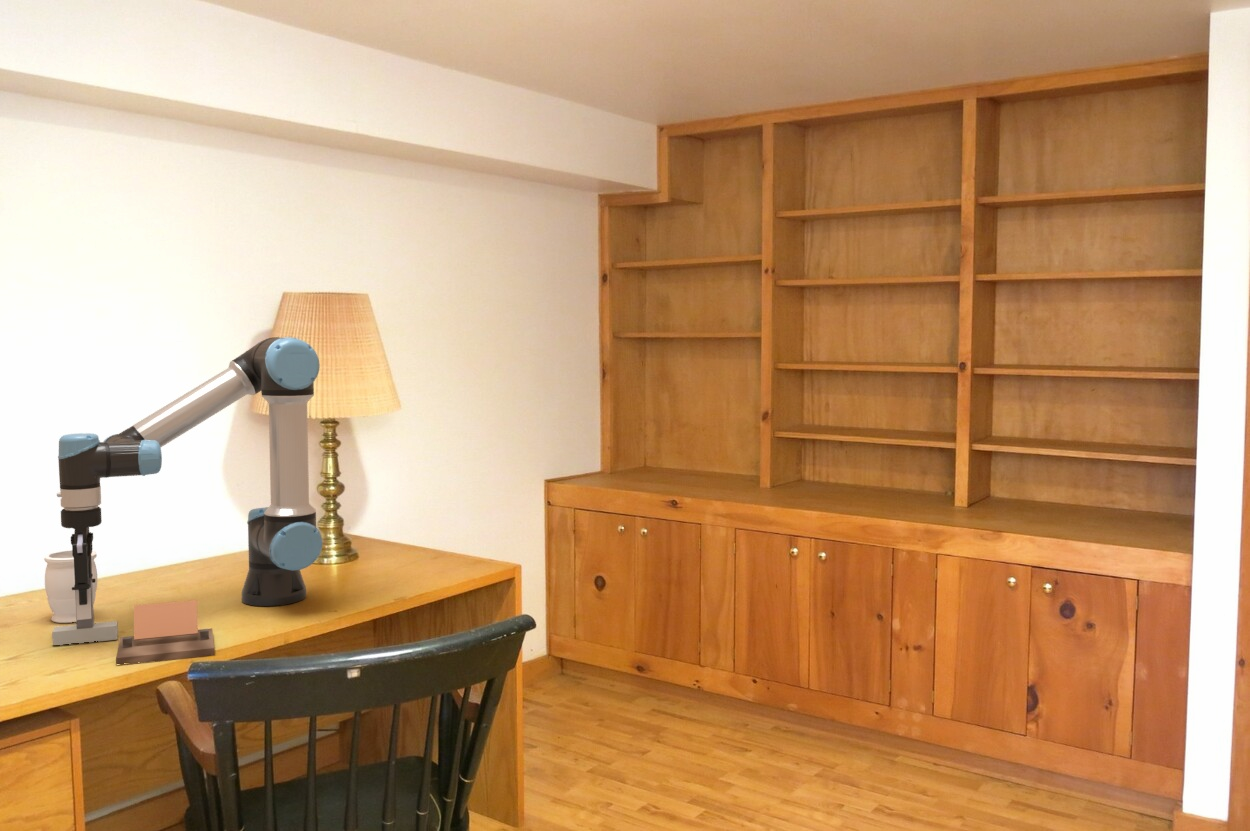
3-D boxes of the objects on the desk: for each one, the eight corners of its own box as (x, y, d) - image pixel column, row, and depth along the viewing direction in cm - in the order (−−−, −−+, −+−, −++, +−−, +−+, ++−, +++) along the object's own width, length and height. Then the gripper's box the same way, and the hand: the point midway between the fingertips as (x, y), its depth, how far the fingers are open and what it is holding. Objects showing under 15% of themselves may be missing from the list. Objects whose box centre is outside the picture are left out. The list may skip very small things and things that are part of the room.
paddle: (117, 634, 220) (115, 575, 219) (116, 639, 217) (114, 579, 216) (54, 640, 215) (52, 580, 214) (52, 646, 212) (50, 584, 211)
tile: (196, 601, 216) (196, 600, 215) (197, 634, 214) (197, 633, 213) (134, 606, 211) (133, 605, 210) (134, 640, 209) (134, 639, 208)
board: (212, 635, 221) (212, 620, 221) (214, 655, 208) (214, 639, 207) (120, 644, 214) (119, 628, 214) (116, 665, 200) (115, 649, 200)
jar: (106, 612, 238) (105, 549, 237) (84, 625, 228) (82, 559, 226) (60, 612, 238) (58, 549, 236) (36, 625, 227) (34, 559, 226)
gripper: (64, 502, 220) (68, 608, 221) (56, 514, 205) (60, 628, 207) (103, 500, 223) (107, 605, 224) (98, 512, 208) (102, 624, 210)
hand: (85, 616), depth 216 cm, fingers closed on paddle, 3 cm apart
